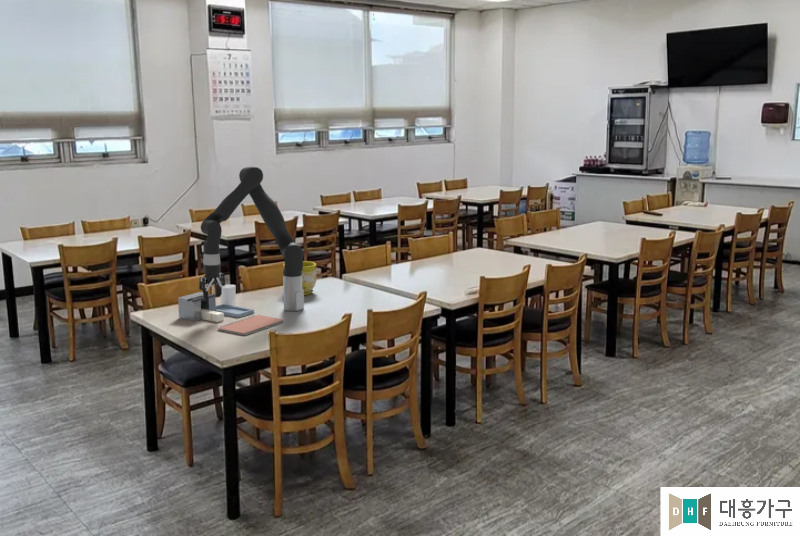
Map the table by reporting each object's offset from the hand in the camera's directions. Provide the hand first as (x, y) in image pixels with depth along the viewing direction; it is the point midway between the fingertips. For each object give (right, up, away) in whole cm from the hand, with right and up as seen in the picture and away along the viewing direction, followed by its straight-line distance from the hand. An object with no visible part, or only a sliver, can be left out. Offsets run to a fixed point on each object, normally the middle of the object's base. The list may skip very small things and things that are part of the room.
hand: (212, 297), depth 341 cm
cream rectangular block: (-2, -10, +3) cm, 11 cm away
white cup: (0, -6, +29) cm, 30 cm away
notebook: (+19, -14, -8) cm, 25 cm away
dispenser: (-9, -10, +7) cm, 15 cm away
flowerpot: (+33, 0, +57) cm, 66 cm away
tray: (+5, -8, +15) cm, 18 cm away
